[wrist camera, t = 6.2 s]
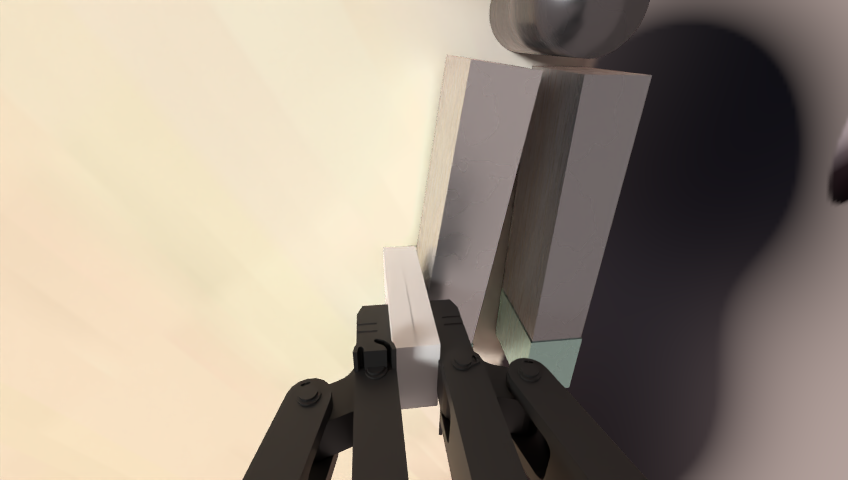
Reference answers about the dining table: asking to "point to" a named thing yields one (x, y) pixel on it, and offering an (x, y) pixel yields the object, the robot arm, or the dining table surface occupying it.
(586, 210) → the base
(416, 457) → the dining table surface
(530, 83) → the tong arm
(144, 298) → the dining table surface
